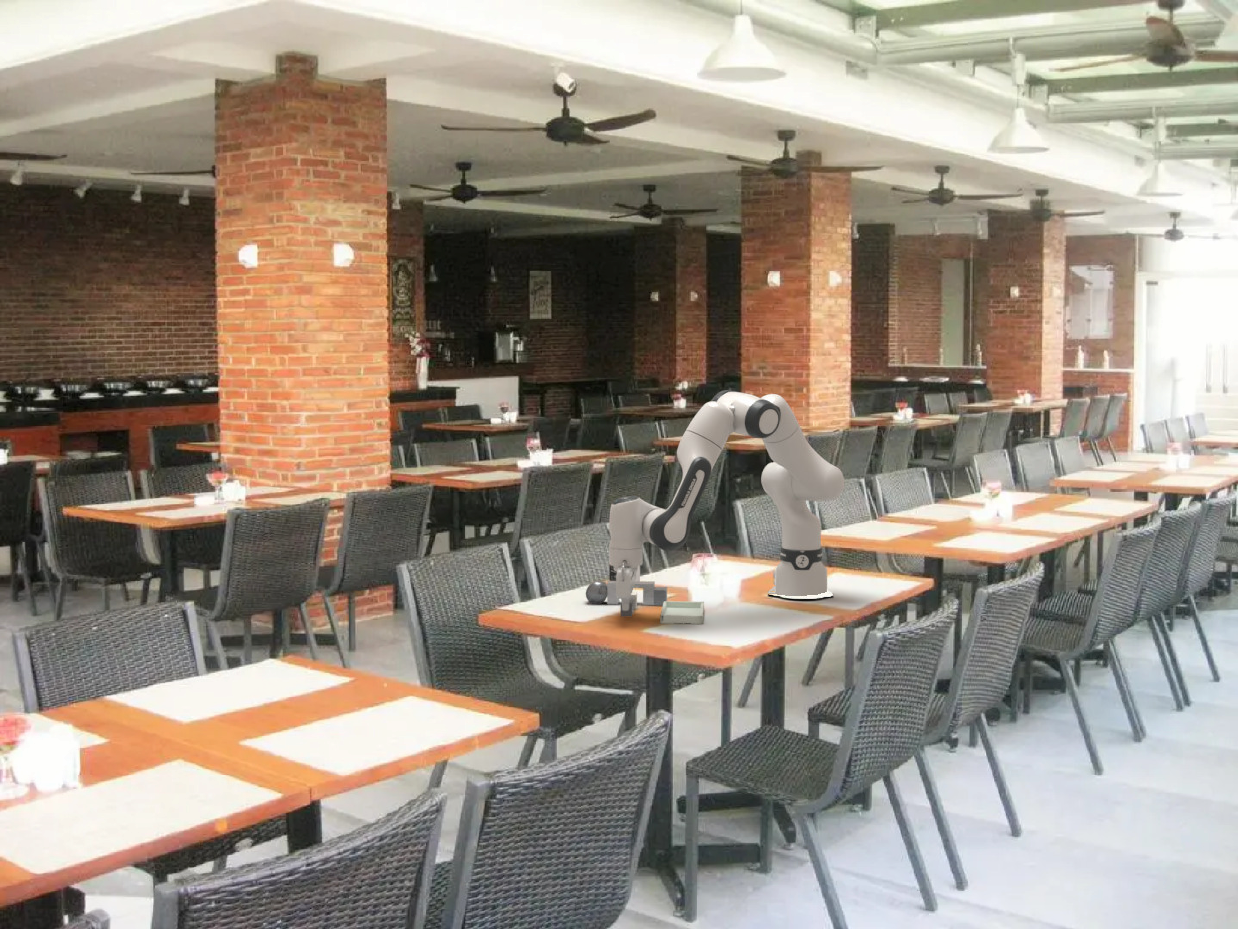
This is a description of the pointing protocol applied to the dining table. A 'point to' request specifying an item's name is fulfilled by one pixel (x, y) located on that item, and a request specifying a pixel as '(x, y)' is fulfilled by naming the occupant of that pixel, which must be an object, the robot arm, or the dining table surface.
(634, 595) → the dark grey rectangular bar
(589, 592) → the housing
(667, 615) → the tray
